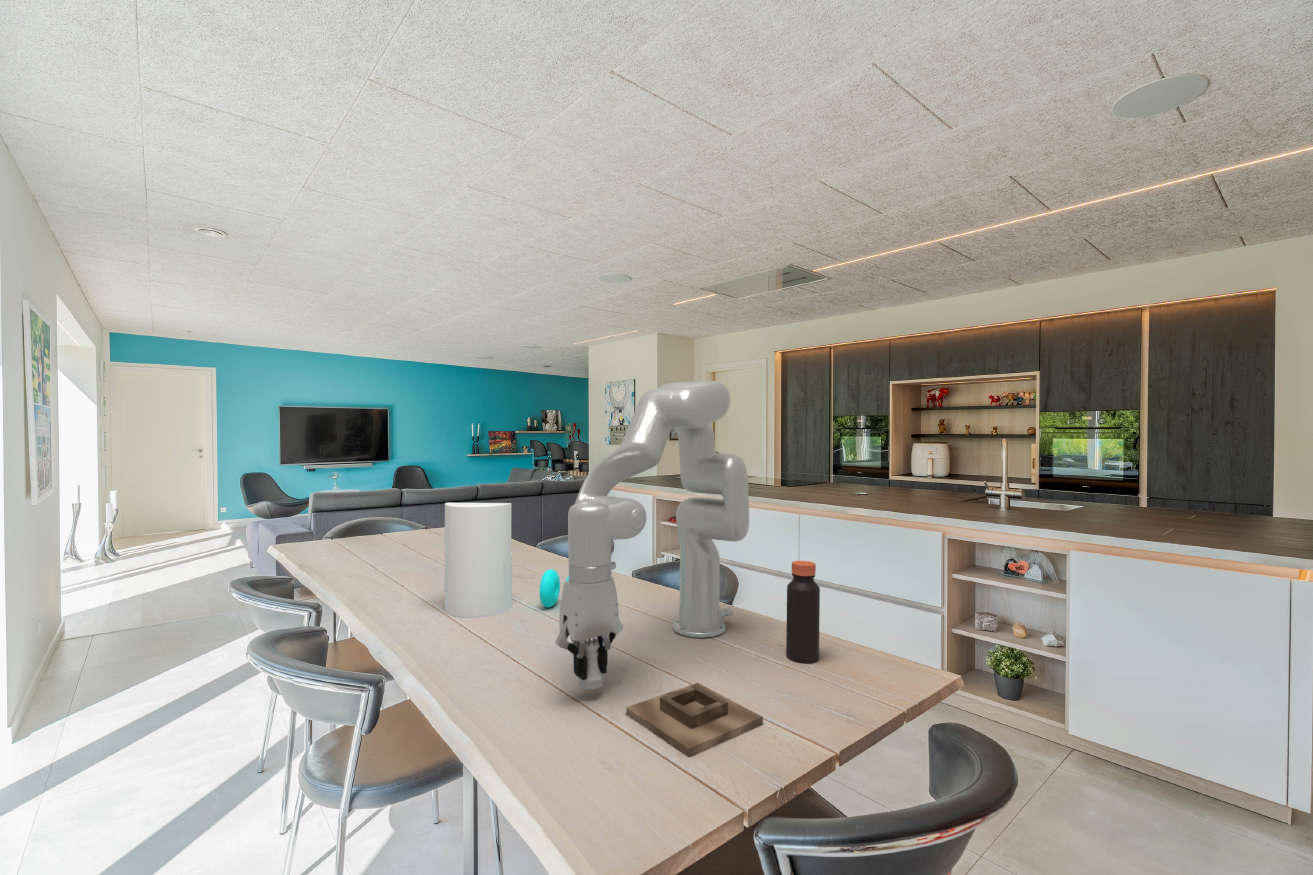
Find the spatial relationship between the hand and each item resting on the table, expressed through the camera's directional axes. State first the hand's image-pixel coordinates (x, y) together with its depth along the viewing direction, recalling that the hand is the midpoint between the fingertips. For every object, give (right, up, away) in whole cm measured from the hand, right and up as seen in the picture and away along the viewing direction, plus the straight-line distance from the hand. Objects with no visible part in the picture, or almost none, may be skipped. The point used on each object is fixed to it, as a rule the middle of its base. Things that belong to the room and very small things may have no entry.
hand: (590, 672), depth 105 cm
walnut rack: (+18, -4, -8) cm, 20 cm away
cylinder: (-36, -3, +52) cm, 63 cm away
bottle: (+43, -5, +19) cm, 47 cm away
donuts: (-14, -4, +52) cm, 54 cm away
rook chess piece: (0, -2, 0) cm, 2 cm away
